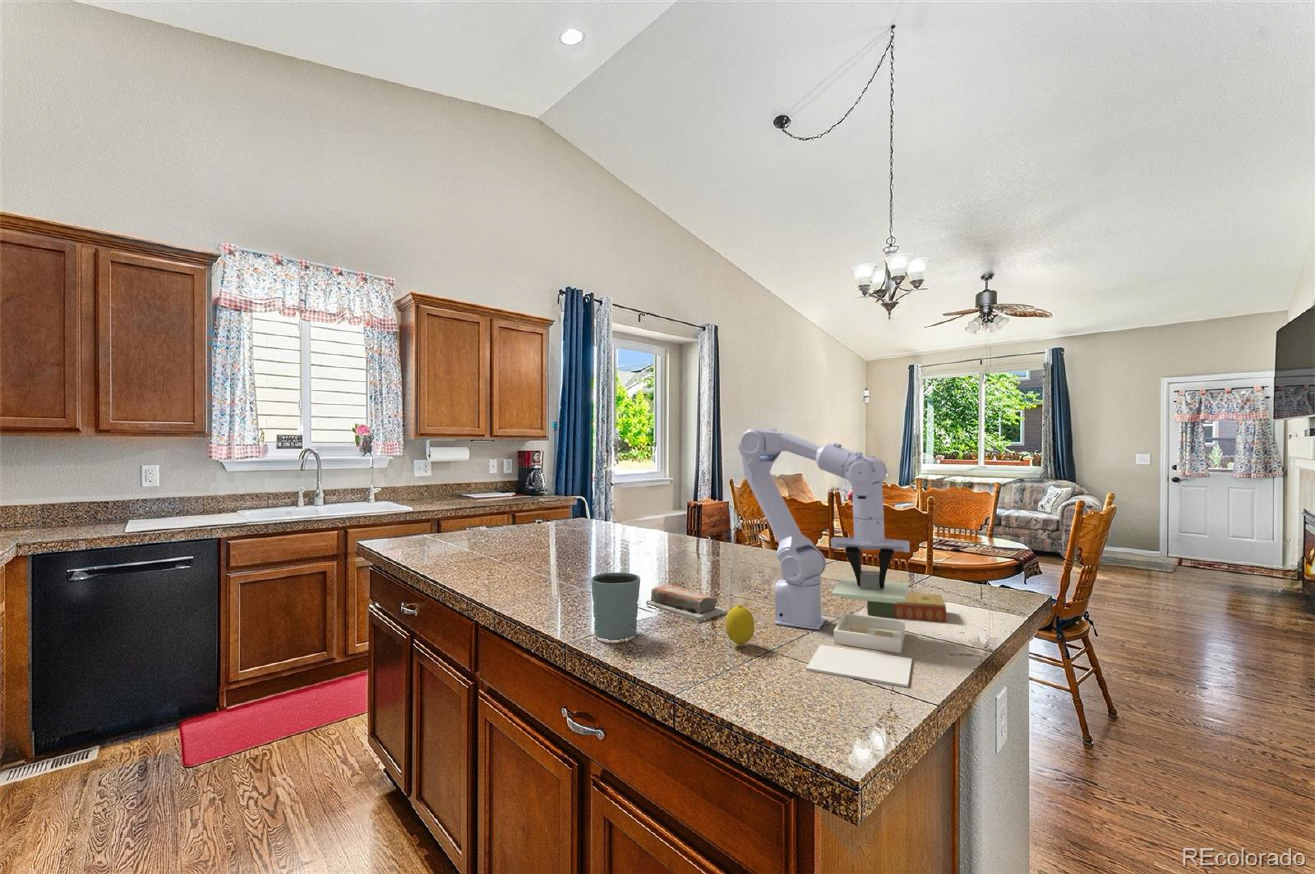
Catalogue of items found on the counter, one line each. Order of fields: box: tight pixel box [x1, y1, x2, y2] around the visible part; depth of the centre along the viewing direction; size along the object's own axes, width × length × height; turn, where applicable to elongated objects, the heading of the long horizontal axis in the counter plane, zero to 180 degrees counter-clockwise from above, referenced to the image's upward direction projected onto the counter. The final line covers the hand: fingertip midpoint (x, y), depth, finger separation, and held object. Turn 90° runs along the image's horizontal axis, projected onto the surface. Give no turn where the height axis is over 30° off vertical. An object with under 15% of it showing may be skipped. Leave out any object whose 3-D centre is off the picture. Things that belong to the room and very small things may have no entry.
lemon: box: [725, 604, 755, 647], centre depth 107 cm, size 6×6×8 cm
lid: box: [830, 569, 910, 604], centre depth 110 cm, size 13×13×4 cm
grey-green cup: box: [590, 572, 641, 640], centre depth 114 cm, size 10×10×12 cm
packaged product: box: [645, 584, 728, 622], centre depth 131 cm, size 18×5×10 cm
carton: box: [866, 592, 947, 623], centre depth 125 cm, size 8×16×4 cm, turn 69°
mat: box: [805, 644, 913, 688], centre depth 97 cm, size 16×12×1 cm
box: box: [833, 612, 906, 654], centre depth 110 cm, size 12×12×2 cm
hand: (870, 586), depth 110 cm, fingers closed on lid, 3 cm apart
